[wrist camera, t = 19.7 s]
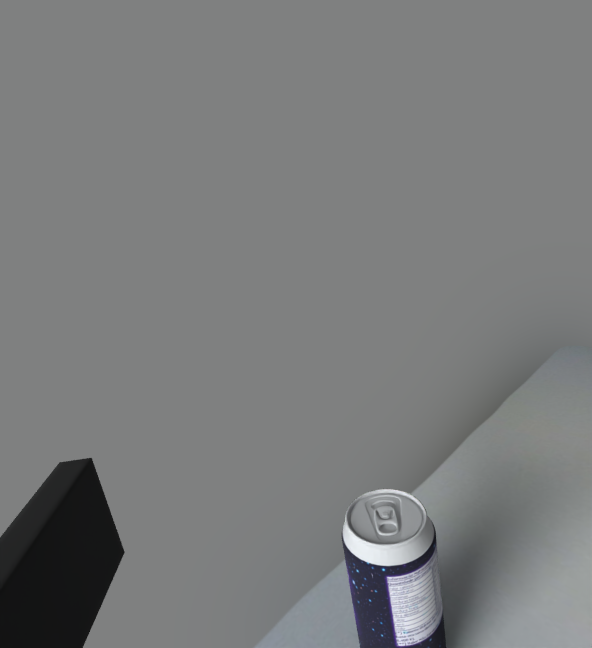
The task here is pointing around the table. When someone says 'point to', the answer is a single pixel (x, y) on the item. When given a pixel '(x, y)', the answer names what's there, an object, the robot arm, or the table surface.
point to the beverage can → (393, 571)
